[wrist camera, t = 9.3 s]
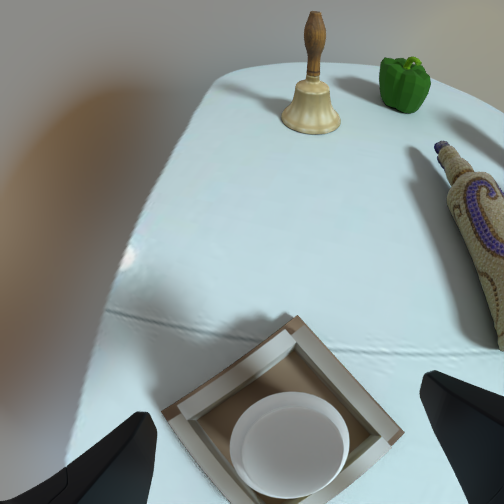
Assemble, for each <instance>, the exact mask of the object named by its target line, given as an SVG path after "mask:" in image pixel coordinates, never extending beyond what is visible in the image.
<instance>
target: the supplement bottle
mask: <svg viewBox="0 0 504 504" xmlns="http://www.w3.org/2000/svg"><path fill="white" fill-rule="evenodd" d="M348 452H349V433H348V429H347V426H346V424H345V421H344V420H343V418H342V416H341V415H340V413H339V412H338V411H337V410H336V409H335V408H334V407H333V406H332V405H331V404H329V403H328V402H327V401H325V400H323V399H321V398H320V397H317V396H315V395H311V394H308V393H302V392H282V393H277V394H273V395H270V396H267V397H265V398H263V399H261V400H259V401H257V402H256V403H254V404H253V405H252V406H250V407H249V408H248V409H247V410H246V411H245V412H244V413H243V414H242V415H241V417H240V418H239V419H238V421H237V423H236V425H235V427H234V429H233V432H232V435H231V439H230V456H231V460H232V463H233V466H234V468H235V470H236V472H237V474H238V475H239V476H240V478H241V479H242V480H243V481H244V482H245V483H246V484H247V485H248V486H249V487H251V488H252V489H254V490H255V491H257V492H259V493H261V494H264V495H267V496H270V497H275V498H283V499H290V498H299V497H304V496H307V495H310V494H312V493H315V492H317V491H319V490H321V489H322V488H324V487H325V486H327V485H328V484H329V483H330V482H331V481H333V479H334V478H335V477H336V476H337V475H338V474H339V473H340V471H341V470H342V468H343V466H344V464H345V462H346V459H347V456H348Z"/></svg>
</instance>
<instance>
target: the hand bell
mask: <svg viewBox="0 0 504 504" xmlns="http://www.w3.org/2000/svg"><path fill="white" fill-rule="evenodd" d="M325 39H326V29H325V25H324V22H323V19H322V15H321V13H320V12H317V11H311V12H310V14H309V17H308V20H307V22H306V25H305V29H304V41H305V47H306V50H307V54H308V63H307V75H306V79H305V80H302V81H299V82H298V83H297V84H296V87H295V93H294V97H293V100H292V102H291V104H290V105H289V106H288V107H286V108H285V109H284V111H283V113H282V115H281V118H282V121H283V123H284V124H285V125H286V126H287V127H289V128H291V129H293V130H295V131H298V132H301V133H307V134H325V133H329V132H332V131H334V130H336V129H337V128H338V127H339V126H340V123H341V120H340V117H339V115H338V113H337V112H336V111H335V110H334V109H333V107H332V105H331V101H330V91H329V87H328V85H327V84H326V83H324V82H322V81H320V80H319V75H320V57H321V53H322V51H323V49H324V45H325Z"/></svg>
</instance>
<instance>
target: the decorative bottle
mask: <svg viewBox="0 0 504 504" xmlns="http://www.w3.org/2000/svg"><path fill="white" fill-rule="evenodd" d="M434 149H435V151H436V153H437V154H438V156H437V160H438V163H439V164H440V165H441V167H442V168H443V169H444V171H445V173H446V176H447V179H448V181H449V183H450V185H451V186H452V187H451V188H450V189H449V192H448V195H447V206H448V207H449V210H450V212H451V214H452V216H453V218H454V220H455V222H456V225H457V226H458V228H459V230H460V233H461V234H462V237H463V239H464V241H465V244H466V246H467V248H468V251H469V253H470V255H471V257H472V259H473V262H474V265H475V268H476V270H477V273H478V275H479V280H480V282H481V285H482V288H483V291H484V293H485V296H486V300H487V303H488V305H489V309H490V312H491V316H492V318H493V321H494V327H495V329H496V332H497V335H498V345H499V350H500V351H502V352H503V351H504V193H503V192H502V190H501V188H499V186H498V184H497V183H496V181H495V180H494V178H493V177H492V176H491V175H490V174H488V173H486V172H474V170H473V168H472V166H471V165H470V164H469V163H468V162H467V161H466V160H465V159H463V158H461V157H460V155H459V153H458V152H457V151H456V149H455V148H454V147H452V146H450V145H449V144H448V142H447V141H440V142H438V143H436V144H435V145H434Z"/></svg>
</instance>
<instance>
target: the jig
mask: <svg viewBox="0 0 504 504" xmlns="http://www.w3.org/2000/svg"><path fill="white" fill-rule="evenodd" d="M282 392H302V393H308V394H311V395H315V396H317V397H320V398H321V399H323V400H325V401H327V402H328V403H329V404H331V405H332V406H333V407H334V408H335V409H336V410H337V411H338V412H339V413H340V415H341V416H342V418H343V420H344V421H345V424H346V426H347V429H348V433H349V452H348V456H347V459H346V462H345V464H344V466H343V468H342V470H341V471H340V473H339V474H338V475H337V476H336V477H335V478H334V479H333V481H331V482H330V483H329V484H328V485H327V486H325V487H324V488H322V489H321V490H319V491H317V492H315V493H312V494H310V495H307V496H304V497H299V498H290V499H283V498H275V497H270V496H267V495H264V494H261V493H259V492H257V491H255V490H254V489H252V488H251V487H249V486H248V485H247V484H246V483H245V482H244V481H243V480H242V479H241V478H240V476H239V475H238V474H237V472H236V470H235V468H234V466H233V463H232V460H231V456H230V439H231V435H232V432H233V429H234V427H235V425H236V423H237V421H238V419H239V418H240V417H241V415H242V414H243V413H244V412H245V411H246V410H247V409H248V408H249V407H250V406H252V405H253V404H254V403H256V402H257V401H259V400H261V399H263V398H265V397H267V396H270V395H273V394H277V393H282ZM161 412H162V414H163V416H164V417H165V419H166V420H167V422H168V423H169V425H170V426H171V428H172V429H173V430H174V432H175V433H176V435H177V436H178V438H179V439H180V440H181V442H182V443H183V445H184V446H185V447H186V449H187V450H188V451H189V453H190V454H191V455H192V457H193V458H194V459H195V461H196V462H197V463H198V465H199V466H200V467H201V468H202V470H203V471H204V472H205V473H206V475H207V476H208V477H209V478H210V480H211V481H212V482H213V483H214V484H215V486H216V487H217V488H218V489H219V490H220V491H221V493H222V494H223V495H224V496H225V497H226V498H227V499H228V501H229V502H230V503H231V504H325V503H327V502H328V501H330V500H331V499H332V498H334V497H335V496H336V495H338V494H339V493H340V492H342V491H343V490H344V489H345V488H347V487H348V486H349V485H351V484H352V483H353V482H354V481H355V480H357V479H358V478H359V477H360V476H361V475H363V474H364V473H365V472H366V471H367V470H368V469H370V468H371V467H372V466H373V465H374V464H375V463H376V462H377V461H378V460H380V459H381V458H382V457H383V456H384V455H385V454H386V453H387V452H388V451H389V450H390V449H391V448H392V447H391V446H392V445H393V444H394V443H395V442H396V441H397V440H398V439H399V438H400V437H401V436H402V435H403V434H404V433H405V432H404V431H403V430H402V429H401V428H400V427H399V426H398V425H397V424H396V423H395V421H394V420H393V419H392V418H391V417H390V416H389V415H388V414H387V413H386V412H385V411H384V409H383V408H382V407H381V406H380V405H379V404H378V403H377V402H376V401H375V400H374V399H373V397H372V396H371V395H370V394H369V393H368V392H367V391H366V390H365V389H364V388H363V387H362V385H361V384H360V383H359V382H358V381H357V380H356V379H355V378H354V377H353V376H352V374H351V373H350V372H349V371H348V370H347V369H346V368H345V367H344V366H343V365H342V364H341V362H340V361H339V360H338V359H337V358H336V357H335V356H334V355H333V354H332V352H331V351H330V350H329V349H328V348H327V347H326V346H325V345H324V344H323V343H322V341H321V340H320V339H319V338H318V337H317V336H316V335H315V334H314V333H313V331H312V330H311V329H310V328H309V327H308V326H307V325H306V324H305V323H304V322H303V320H302V319H301V318H300V317H299V316H298V315H297V316H296V317H294V318H293V319H292V320H291V321H289V322H288V323H287V324H285V325H284V326H283V327H282V328H280V329H279V330H278V331H276V332H275V333H274V334H272V335H271V336H270V337H268V338H267V339H266V340H264V341H263V342H262V343H260V344H259V345H258V346H256V347H255V348H254V349H252V350H251V351H250V352H248V353H247V354H245V355H244V356H243V357H241V358H240V359H239V360H237V361H236V362H234V363H233V364H232V365H230V366H229V367H227V368H226V369H224V370H223V371H222V372H220V373H219V374H217V375H216V376H214V377H213V378H211V379H210V380H209V381H207V382H206V383H204V384H203V385H201V386H200V387H198V388H197V389H195V390H194V391H192V392H191V393H189V394H188V395H186V396H185V397H183V398H181V399H180V400H178V401H177V402H175V403H174V404H172V405H171V406H169V407H167V408H166V409H164V410H163V411H161Z"/></svg>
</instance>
